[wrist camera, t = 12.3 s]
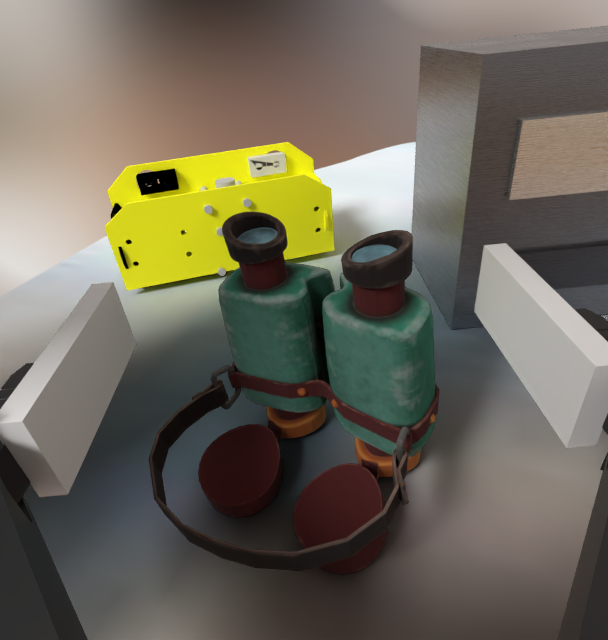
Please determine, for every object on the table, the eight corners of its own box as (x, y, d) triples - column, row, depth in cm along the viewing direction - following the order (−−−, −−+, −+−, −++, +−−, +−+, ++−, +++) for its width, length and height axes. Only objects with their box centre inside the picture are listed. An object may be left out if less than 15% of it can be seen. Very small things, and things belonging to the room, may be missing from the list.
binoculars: (6, 350, 11) (242, 186, 17) (155, 545, 18) (287, 374, 24) (320, 496, 7) (481, 209, 13) (363, 681, 13) (456, 430, 20)
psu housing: (452, 332, 26) (486, 54, 18) (410, 256, 34) (420, 45, 27) (781, 300, 26) (958, 4, 18) (656, 231, 34) (739, 11, 26)
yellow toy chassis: (316, 235, 40) (309, 137, 35) (336, 261, 35) (330, 152, 31) (135, 269, 38) (101, 168, 33) (130, 301, 33) (89, 190, 28)
